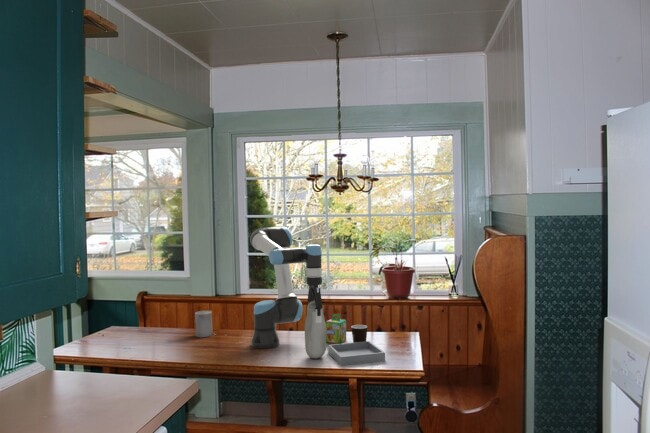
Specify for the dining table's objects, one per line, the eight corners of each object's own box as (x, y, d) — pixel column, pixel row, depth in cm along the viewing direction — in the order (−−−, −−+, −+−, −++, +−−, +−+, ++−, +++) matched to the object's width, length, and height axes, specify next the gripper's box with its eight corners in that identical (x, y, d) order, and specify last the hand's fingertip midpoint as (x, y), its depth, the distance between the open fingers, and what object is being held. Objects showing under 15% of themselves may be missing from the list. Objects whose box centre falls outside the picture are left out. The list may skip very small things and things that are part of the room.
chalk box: (325, 342, 286) (324, 315, 286) (331, 338, 295) (330, 312, 294) (341, 344, 283) (340, 316, 283) (347, 340, 291) (346, 313, 291)
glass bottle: (322, 361, 253) (321, 303, 252) (302, 359, 256) (301, 302, 255) (329, 355, 262) (327, 299, 261) (309, 354, 265) (308, 298, 265)
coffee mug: (366, 348, 274) (366, 328, 274) (350, 347, 276) (350, 328, 276) (369, 342, 286) (369, 323, 285) (353, 341, 287) (353, 323, 287)
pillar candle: (205, 332, 315) (203, 307, 315) (216, 334, 310) (215, 309, 309) (192, 336, 308) (191, 310, 307) (203, 338, 302) (202, 312, 301)
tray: (328, 352, 267) (328, 345, 267) (369, 348, 273) (369, 341, 273) (341, 365, 246) (340, 357, 246) (385, 360, 251) (385, 352, 251)
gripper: (328, 279, 247) (329, 324, 247) (315, 272, 271) (316, 314, 272) (312, 280, 245) (313, 325, 246) (301, 273, 269) (302, 315, 270)
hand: (315, 319), depth 259 cm, fingers open, 13 cm apart
